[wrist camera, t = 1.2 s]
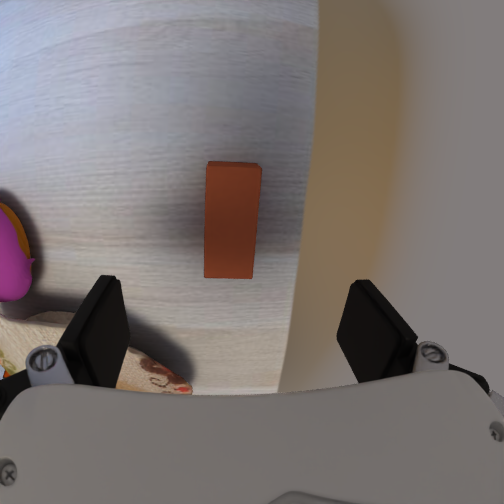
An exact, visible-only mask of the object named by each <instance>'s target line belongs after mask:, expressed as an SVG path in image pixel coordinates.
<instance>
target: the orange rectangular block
mask: <svg viewBox="0 0 504 504" xmlns="http://www.w3.org/2000/svg"><path fill="white" fill-rule="evenodd" d="M261 175H262V168H261V167H260V166H259V165H258V164H257V163H241V162H219V161H209V162H208V164H207V167H206V192H205V232H204V277H205V278H228V279H252V278H253V267H254V255H255V244H256V233H257V221H258V210H259V198H260V187H261Z"/></svg>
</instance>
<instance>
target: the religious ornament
mask: <svg viewBox="0 0 504 504" xmlns="http://www.w3.org/2000/svg"><path fill="white" fill-rule="evenodd" d="M68 325H69V324H62V323H49V322H38V321H25V320H18V319H12V318H7V317H5V316H4V315H2V314H0V364H1V365H2V367H3V368H4V369H5V370H6V371H7V372H8V373H9V375H13V374H15V373H17V372H20V371H22V370H24V369H26V365H25V361H26V357H27V355H28V354H29V353H30V352H31V351H32V350H33V349H34V348H36V347H38V346H42V345H53V346H55V347H56V345H57V343H58V341H59V340H60V338H61V336H62V335H63V333H64V331H65V329H66V328H67V326H68ZM115 389H122V390H131V391H142V392H153V393H167V394H185V395H192V392H193V390H192V386H191V385H189V384H188V383H187V382H186V381H185V380H184V378H182V377H181V376H180V375H177V374H175V373H174V372H172V371H170V370H169V369H167V368H166V367H164V366H163V365H161V364H160V363H158V362H157V361H155V360H153V359H152V358H150V357H149V356H147V355H146V354H144V353H143V352H141V351H140V350H138V349H135V348H133V347H130V346H128V349H127V352H126V355H125V358H124V361H123V364H122V368H121V371H120V374H119V377H118V381H117V384H116V388H115Z"/></svg>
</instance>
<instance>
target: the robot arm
mask: <svg viewBox="0 0 504 504" xmlns="http://www.w3.org/2000/svg"><path fill="white" fill-rule="evenodd" d="M417 338H418V336H417V335H416V334H415V333H414V331H413V330H412V329H411V328H410V326H409V325H408V324H407V323H406V322H405V321H404V319H403V318H402V317H401V316H400V315H399V313H398V312H397V311H396V310H395V309H394V307H393V306H392V305H391V304H390V303H389V301H388V300H387V299H386V298H385V297H384V296H383V295H382V294H381V292H380V291H379V290H378V289H377V288H376V287H375V285H374V284H373V283H372V282H371V281H370V280H356V281H355V282H354V283H352V284H351V286H350V289H349V293H348V297H347V300H346V304H345V308H344V311H343V315H342V318H341V321H340V325H339V328H338V331H337V341H338V343H339V345H340V347H341V349H342V351H343V353H344V355H345V357H346V359H347V361H348V363H349V365H350V367H351V369H352V371H353V373H354V375H355V377H356V379H357V381H358V384H352V385H346V386H339V387H332V388H326V389H316V390H307V391H298V392H287V393H272V394H253V395H185V394H167V393H153V392H142V391H131V390H122V389H115V388H116V384H117V381H118V377H119V374H120V371H121V368H122V364H123V361H124V358H125V355H126V352H127V349H128V346H129V343H130V330H129V325H128V321H127V316H126V311H125V305H124V300H123V294H122V289H121V283H120V280H117V279H116V277H115V276H110V275H101V276H100V277H99V279H98V280H97V281H96V283H95V284H94V286H93V287H92V289H91V290H90V292H89V293H88V295H87V296H86V298H85V299H84V301H83V302H82V304H81V305H80V307H79V308H78V310H77V312H76V313H75V315H74V316H73V318H72V320H71V321H70V323H69V325H68V326H67V328H66V329H65V331H64V333H63V335H62V336H61V338H60V340H59V341H58V343H57V345H56V347H55V346H53V345H42V346H38V347H36V348H34V349H33V350H32V351H31V352H30V353H29V354H28V355H27V357H26V361H25V365H26V369H24V370H22V371H20V372H17V373H15V374H13V375H11V376H8V377H6V378H4V379H2V380H0V504H504V397H502V396H501V395H499V394H498V393H496V392H495V391H493V390H492V391H491V393H490V392H489V390H490V389H489V385H488V383H487V382H486V380H485V378H484V377H483V376H481V375H478V374H476V373H473V372H470V371H467V370H465V369H462V368H460V367H457V366H455V365H452V364H449V357H448V353H447V352H446V350H445V349H444V348H443V347H442V346H440V345H439V344H436V343H434V342H430V341H424V342H421V343H420V344H419V345H417V343H416V340H417Z"/></svg>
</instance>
